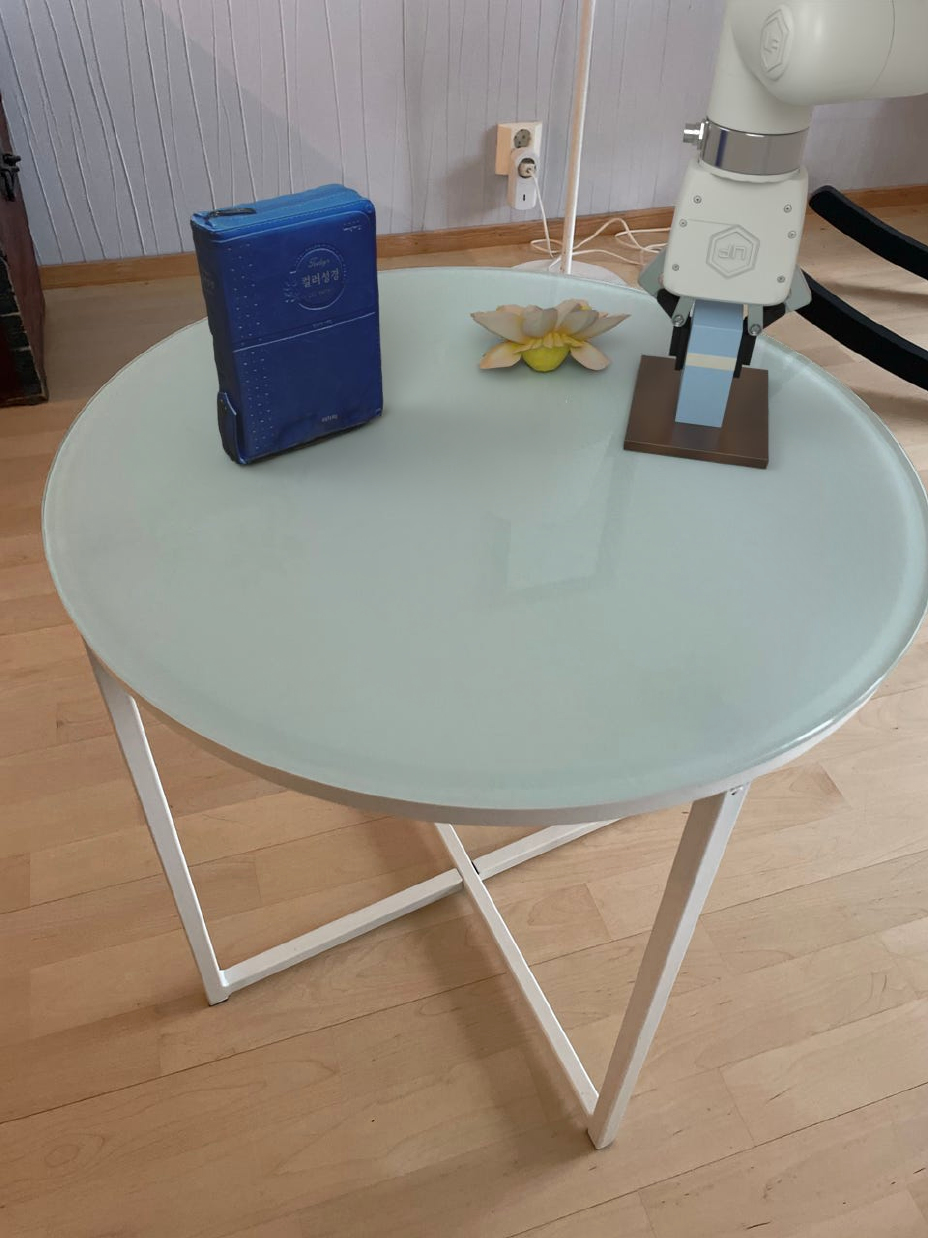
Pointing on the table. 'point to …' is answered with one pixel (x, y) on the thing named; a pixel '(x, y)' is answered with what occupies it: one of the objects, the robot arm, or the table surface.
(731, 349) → the box
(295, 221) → the book
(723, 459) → the brown wooden board
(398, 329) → the table surface
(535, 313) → the decorative flower
